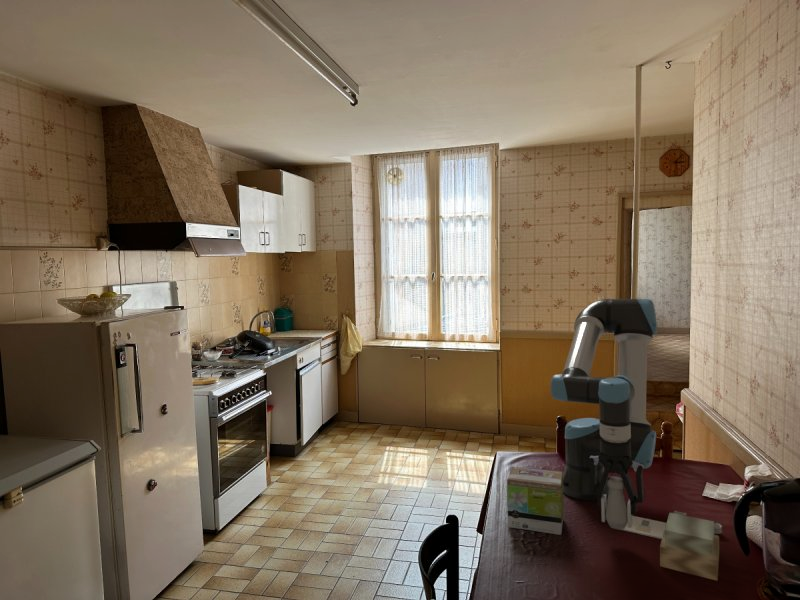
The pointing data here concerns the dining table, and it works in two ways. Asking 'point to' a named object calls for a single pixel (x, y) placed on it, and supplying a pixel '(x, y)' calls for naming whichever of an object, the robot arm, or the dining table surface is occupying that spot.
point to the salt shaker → (616, 504)
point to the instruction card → (646, 527)
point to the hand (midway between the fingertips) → (617, 522)
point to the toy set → (716, 526)
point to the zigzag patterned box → (690, 546)
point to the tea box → (535, 500)
